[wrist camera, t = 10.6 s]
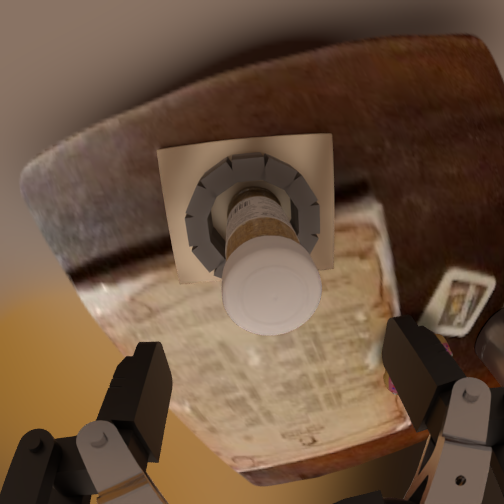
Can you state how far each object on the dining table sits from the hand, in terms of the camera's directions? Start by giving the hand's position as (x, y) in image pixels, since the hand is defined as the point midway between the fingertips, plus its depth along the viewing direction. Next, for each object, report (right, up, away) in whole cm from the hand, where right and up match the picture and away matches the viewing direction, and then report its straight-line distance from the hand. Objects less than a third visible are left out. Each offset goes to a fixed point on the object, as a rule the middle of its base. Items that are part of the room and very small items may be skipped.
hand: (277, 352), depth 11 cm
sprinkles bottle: (-1, +7, +16) cm, 17 cm away
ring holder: (-1, +7, +17) cm, 18 cm away
